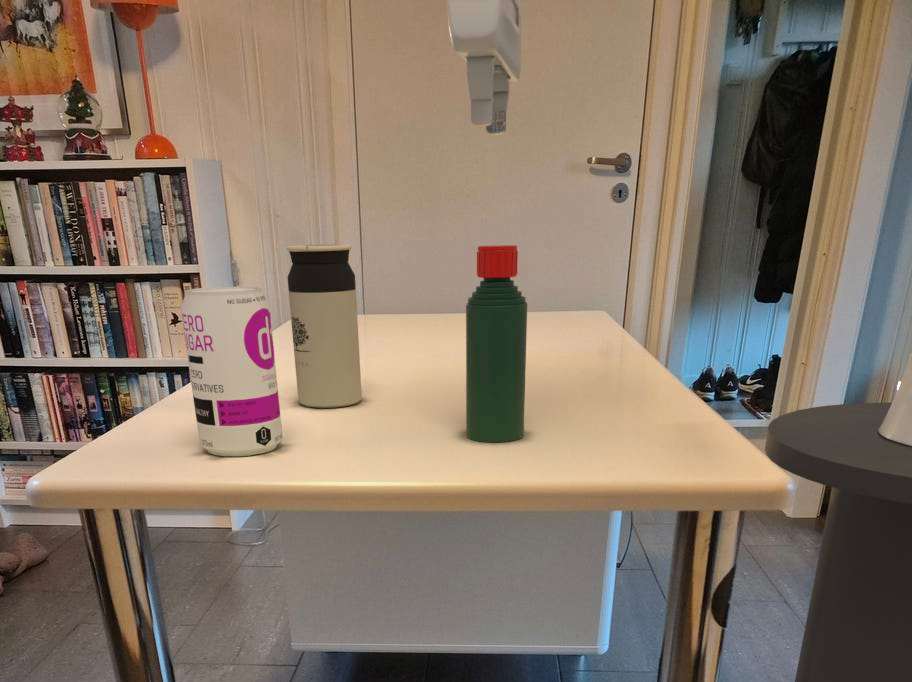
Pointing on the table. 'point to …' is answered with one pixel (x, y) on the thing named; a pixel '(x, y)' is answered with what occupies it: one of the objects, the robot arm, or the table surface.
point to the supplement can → (232, 369)
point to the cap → (497, 261)
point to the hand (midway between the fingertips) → (489, 130)
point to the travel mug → (324, 325)
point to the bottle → (495, 361)
